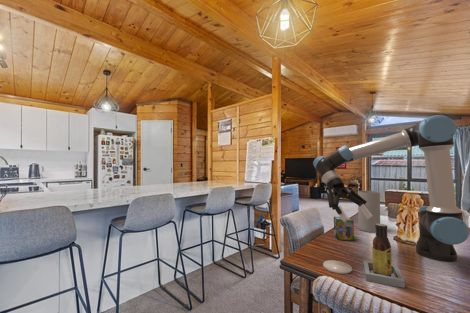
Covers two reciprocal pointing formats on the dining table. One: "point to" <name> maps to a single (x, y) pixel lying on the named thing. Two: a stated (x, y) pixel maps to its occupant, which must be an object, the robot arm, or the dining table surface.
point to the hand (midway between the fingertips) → (358, 219)
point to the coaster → (337, 267)
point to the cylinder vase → (373, 208)
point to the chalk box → (343, 229)
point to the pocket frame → (384, 279)
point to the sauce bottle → (382, 252)
